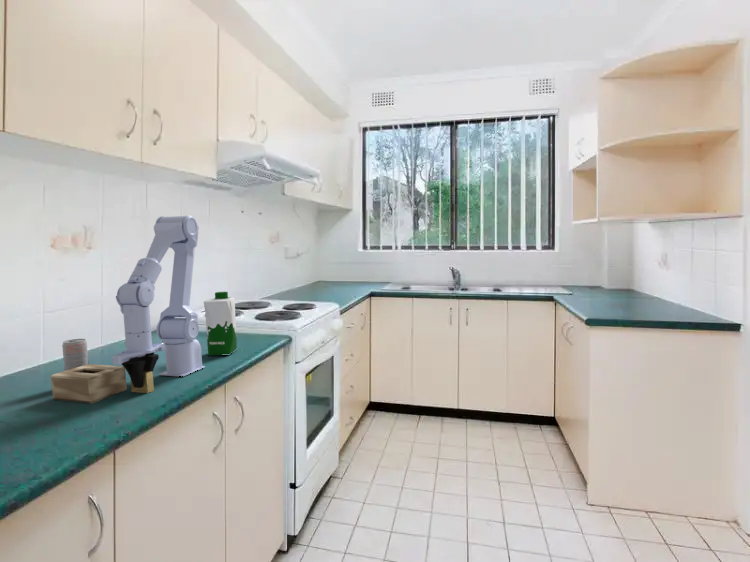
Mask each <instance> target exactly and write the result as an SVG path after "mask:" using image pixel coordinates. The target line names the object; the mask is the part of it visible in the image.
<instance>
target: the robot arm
mask: <svg viewBox="0 0 750 562" xmlns="http://www.w3.org/2000/svg"><path fill="white" fill-rule="evenodd" d="M199 229H200V228H199V225H198V223H197V221H196V219H195V218H194V216H192V215H190V214H188V215H175V216H159V217H158V218H157V219H156V220H155V224H154V226H153V231H154V237H153V239H152V242H151V244H150V247H149V249H148V251H147V254H146V256H145V257H143V258H140V259H139V260H138V261H137V263H136V265H135V267H134V268H133V271H132V272H131V275H130V276H129V278H128V279H127V282H126V283H124V284H122V285H120V286H119V288H118V289H117V293H116V295H115V299H116V302H117V304H118V305H119V307H120V308H119V309H120V312H121V314H123V323H124V325H123V326H124V336H125V338H124V339H125V348H126V349H125V350H124V351H122V352H119V353H118V354H115V355H112V356H111V363H112V365H115V366H123V367H124V368H125V371H126V372H127V374H128V376H129V378H130V381H131V380H132V383H133V386H134V387H135V388H141V387H143V370H145V371H153V372H154V369H155V366H156V364H157V362H158V360H159V359H160V358H159V354H157V352H163V351H165V362H166V364H165V365H166V370H165V371H163V372H160V373H159V376H164V377H165V376H167V377H168V376H169V377H179V376H181V377H182V376H183V377H187V376H188V375H190V373H191V374H193V373H196V372H197V370H198V371H200V370H202V368H203V369H205V367H206V366H205V365H203V359H202V346H201V344H200V342H199V340H198V339H196V338H197V336H198V334H199V330H200V326H199V325H200V324H199V321H198V320H199V319H198V317H199V316H198V313H197V312H195V311H194V310H193V309H192V308H191V307H190V303H191V293H192V291H191V290H192V281H193V271H194V262H195V250H196V249H195V248H196V247H197V246H198V238H199ZM169 249H172V250H173V252H174V257H173V266H172V267H173V268H172V272H171V273H172V275H171V285H170V292H169V293H170V294H169V305H168V307H167V308H165V309H164V310H163V311H162V312H160V315H159V320H158V322H157V325H156V335H157V337H158V339H159V340H161V341H162V342H156V343H153V341H152V340H153V339H152V327H151V314H150V312H151V311H150V305H151V304H152V302H154V298H155V290H156V289H155V287H156V286H155V284H156V282H157V281H158V278H159V276H160V274H161V272H162V265H161V264H160V263H161V261H162V260H163V258H164V256H165V255H166V253H168V250H169ZM155 353H156V354H155ZM195 371H196V372H195ZM183 377H182V378H183Z"/></svg>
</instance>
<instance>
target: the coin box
mask: <svg viewBox="0 0 750 562" xmlns="http://www.w3.org/2000/svg"><path fill="white" fill-rule="evenodd" d="M126 376H127V375H126V369H125V368H124V367H123V365H110V364H109V365H108V364H93V363H92V364H91V363H89V364H87V365H83V366H80V367H77V368H73V369H70V370H67V371H65V370H63V371H61V372H57V373H54V374H51V375H50V378H51V379H50V381H51V382H50V383H51V391H52V400H54V401H60V402H61V401H62V402H64V401H65V402H73V403H82V404H94V403H97V402H99V401H100V402H101V401H102V400H104V399H107V398H110V397H113V396H115V395H118V394H120V393H122V392H124V391H127V390H128V388H127V377H126Z"/></svg>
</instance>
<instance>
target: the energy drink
mask: <svg viewBox="0 0 750 562" xmlns="http://www.w3.org/2000/svg"><path fill="white" fill-rule="evenodd" d="M61 347H62V356H63V367H64V371H67V370H70V369H73V368H77V367H80V366H83V365H87V364H90V363H89V351H88V343H87V340H86V338H74V339H72V338H71V339H67V340H64V341H63V342H62V346H61Z"/></svg>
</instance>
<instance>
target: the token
mask: <svg viewBox="0 0 750 562" xmlns="http://www.w3.org/2000/svg"><path fill="white" fill-rule="evenodd" d="M130 388H131V392H132V393H141V394H149V392H150V393H152V392H154V391H155V385H154V370H153V371H145V370H143V387H141V388H135V387H134V386H133V383H132V380H131V379H130Z"/></svg>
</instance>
